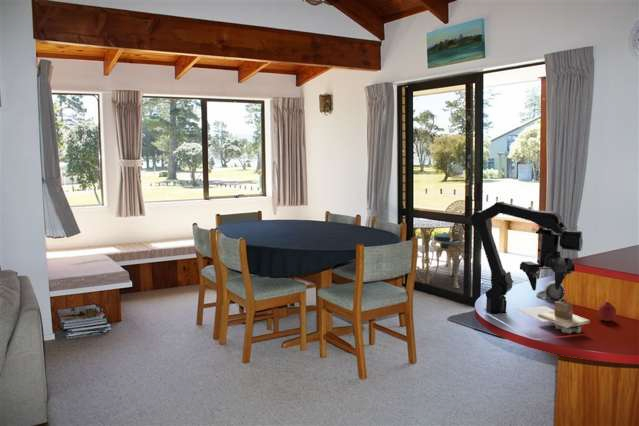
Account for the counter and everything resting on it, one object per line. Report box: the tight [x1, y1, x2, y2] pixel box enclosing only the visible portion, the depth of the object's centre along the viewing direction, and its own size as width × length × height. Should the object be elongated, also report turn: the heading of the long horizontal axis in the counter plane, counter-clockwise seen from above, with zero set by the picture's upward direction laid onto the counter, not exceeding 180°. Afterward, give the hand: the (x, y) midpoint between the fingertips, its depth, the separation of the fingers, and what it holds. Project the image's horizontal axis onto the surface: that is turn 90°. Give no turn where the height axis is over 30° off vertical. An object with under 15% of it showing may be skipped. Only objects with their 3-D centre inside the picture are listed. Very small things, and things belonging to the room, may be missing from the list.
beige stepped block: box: [538, 300, 591, 328], centre depth 190 cm, size 10×13×6 cm
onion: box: [597, 299, 617, 322], centre depth 198 cm, size 6×6×8 cm
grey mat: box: [515, 305, 555, 323], centre depth 206 cm, size 13×16×1 cm
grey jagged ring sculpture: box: [549, 321, 583, 334], centre depth 190 cm, size 11×8×4 cm
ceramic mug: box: [536, 280, 566, 301], centre depth 227 cm, size 11×8×8 cm
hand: (545, 289), depth 197 cm, fingers open, 9 cm apart
